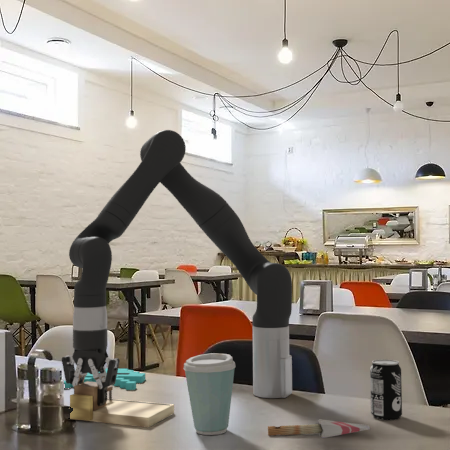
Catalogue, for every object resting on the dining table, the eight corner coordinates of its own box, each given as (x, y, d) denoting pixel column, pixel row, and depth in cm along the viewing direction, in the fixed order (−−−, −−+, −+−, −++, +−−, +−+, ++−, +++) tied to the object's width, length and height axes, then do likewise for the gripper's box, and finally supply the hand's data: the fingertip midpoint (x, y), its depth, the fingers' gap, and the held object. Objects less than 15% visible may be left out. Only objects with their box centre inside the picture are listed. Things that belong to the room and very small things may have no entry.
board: (174, 413, 144) (174, 403, 144) (148, 427, 133) (148, 417, 133) (98, 405, 151) (98, 397, 151) (67, 418, 140) (67, 409, 140)
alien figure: (134, 391, 168) (150, 376, 188) (134, 383, 168) (150, 368, 188) (60, 390, 170) (84, 375, 190) (60, 382, 170) (84, 368, 190)
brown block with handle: (120, 406, 148) (120, 377, 148) (89, 420, 136) (89, 389, 137) (101, 405, 150) (101, 376, 150) (69, 418, 138) (69, 387, 138)
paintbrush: (370, 422, 124) (267, 426, 125) (371, 436, 124) (268, 440, 125) (367, 416, 128) (267, 421, 129) (367, 430, 128) (268, 434, 129)
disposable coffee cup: (218, 441, 122) (217, 362, 123) (172, 433, 128) (172, 358, 129) (245, 428, 131) (245, 354, 132) (202, 421, 137) (202, 350, 138)
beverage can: (403, 414, 141) (402, 359, 142) (401, 422, 135) (400, 365, 135) (372, 412, 143) (371, 358, 144) (369, 419, 137) (368, 363, 138)
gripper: (127, 326, 143) (127, 403, 142) (73, 323, 148) (73, 398, 147) (109, 330, 136) (109, 411, 135) (53, 327, 141) (52, 405, 140)
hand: (90, 403), depth 141 cm, fingers closed on brown block with handle, 5 cm apart
